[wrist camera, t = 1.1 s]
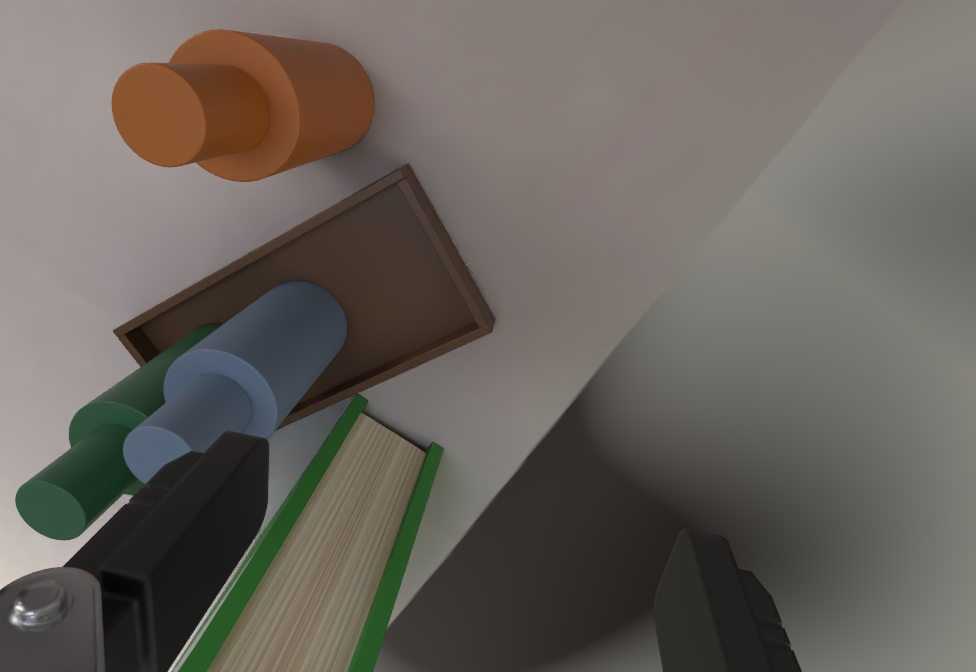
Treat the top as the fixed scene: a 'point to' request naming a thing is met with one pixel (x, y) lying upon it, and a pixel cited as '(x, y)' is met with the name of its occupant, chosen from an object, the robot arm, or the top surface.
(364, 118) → the amber bottle
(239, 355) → the slate bottle
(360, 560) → the hardback book
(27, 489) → the green bottle
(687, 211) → the top surface
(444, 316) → the tray
